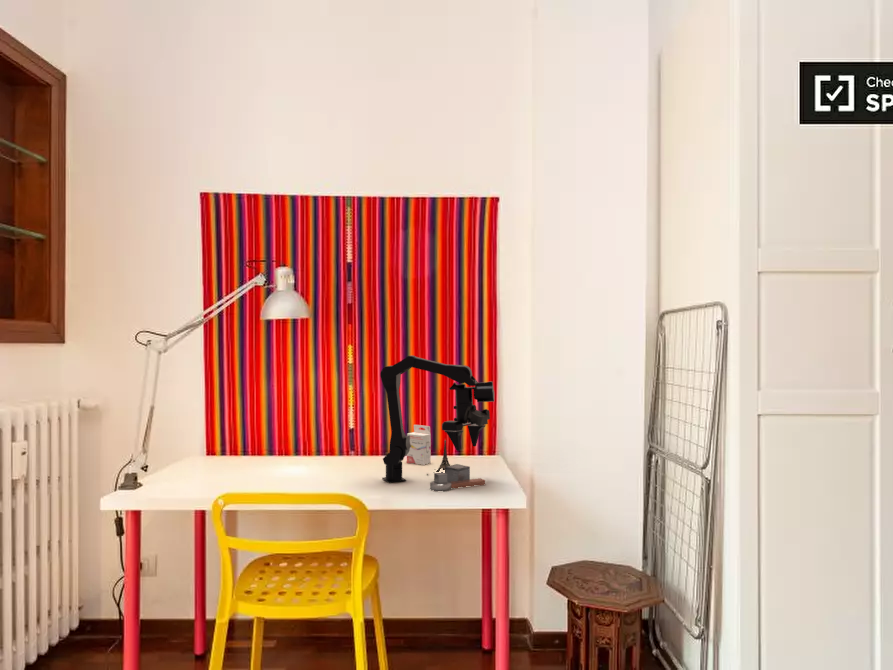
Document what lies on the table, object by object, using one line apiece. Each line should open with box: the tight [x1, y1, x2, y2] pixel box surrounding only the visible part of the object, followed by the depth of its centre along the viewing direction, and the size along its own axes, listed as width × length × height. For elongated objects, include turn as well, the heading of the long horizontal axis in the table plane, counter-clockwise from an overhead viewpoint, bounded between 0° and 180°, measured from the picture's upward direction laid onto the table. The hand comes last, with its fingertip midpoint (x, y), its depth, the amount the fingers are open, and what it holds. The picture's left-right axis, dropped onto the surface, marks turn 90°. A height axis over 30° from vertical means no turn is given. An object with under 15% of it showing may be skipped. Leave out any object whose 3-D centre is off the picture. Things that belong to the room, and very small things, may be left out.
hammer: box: [429, 472, 486, 492], centre depth 208 cm, size 20×7×5 cm, turn 117°
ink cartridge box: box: [406, 424, 432, 466], centre depth 246 cm, size 9×5×15 cm, turn 58°
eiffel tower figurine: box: [436, 439, 451, 472], centre depth 230 cm, size 15×10×13 cm
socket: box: [445, 463, 471, 482], centre depth 216 cm, size 6×6×5 cm
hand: (466, 448), depth 213 cm, fingers open, 9 cm apart
